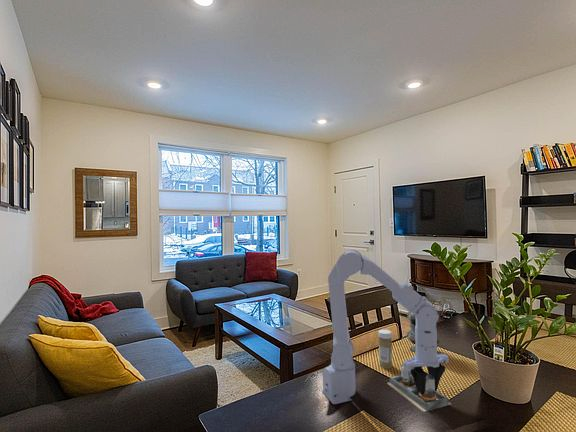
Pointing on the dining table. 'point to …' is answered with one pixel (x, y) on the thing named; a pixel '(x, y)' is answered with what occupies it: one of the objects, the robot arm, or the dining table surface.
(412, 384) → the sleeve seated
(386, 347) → the sprinkles bottle
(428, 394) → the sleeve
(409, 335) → the apothecary jar
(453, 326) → the dining table surface
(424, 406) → the board
